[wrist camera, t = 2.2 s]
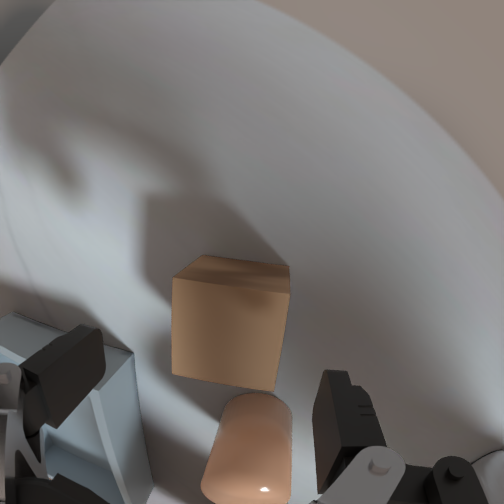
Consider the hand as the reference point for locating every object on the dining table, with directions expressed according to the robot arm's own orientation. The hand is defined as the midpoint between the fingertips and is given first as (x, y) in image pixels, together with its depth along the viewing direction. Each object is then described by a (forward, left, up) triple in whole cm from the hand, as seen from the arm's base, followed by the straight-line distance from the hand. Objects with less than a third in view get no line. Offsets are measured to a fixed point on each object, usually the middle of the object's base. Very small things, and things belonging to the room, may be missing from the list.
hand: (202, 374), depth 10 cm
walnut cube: (0, 0, -8) cm, 8 cm away
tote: (+14, +14, -8) cm, 22 cm away
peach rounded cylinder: (-2, +9, -8) cm, 13 cm away
